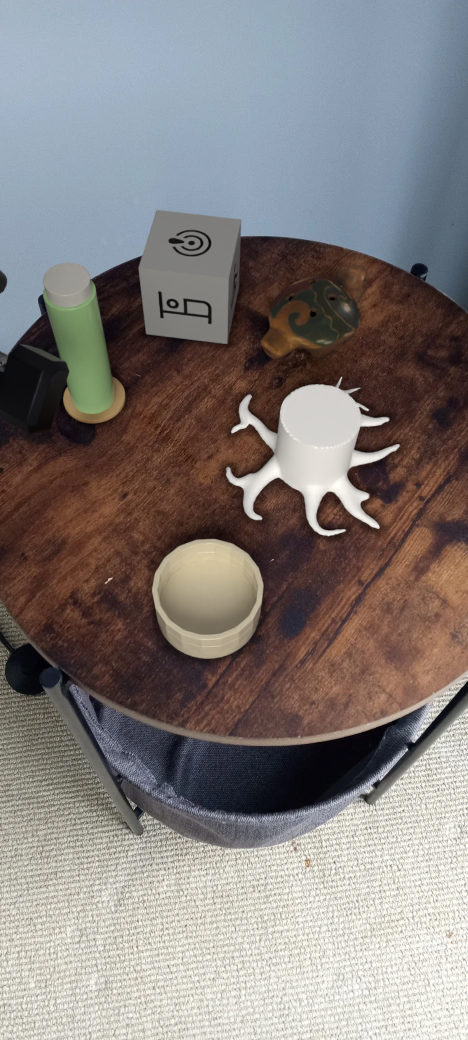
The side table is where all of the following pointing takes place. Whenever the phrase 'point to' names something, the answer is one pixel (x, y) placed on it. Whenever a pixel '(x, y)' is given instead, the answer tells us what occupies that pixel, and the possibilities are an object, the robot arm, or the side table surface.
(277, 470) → the tree stump
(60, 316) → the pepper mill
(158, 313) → the icon cube
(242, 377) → the side table surface
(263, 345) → the ocarina
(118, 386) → the coaster
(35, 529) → the side table surface
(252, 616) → the bowl
